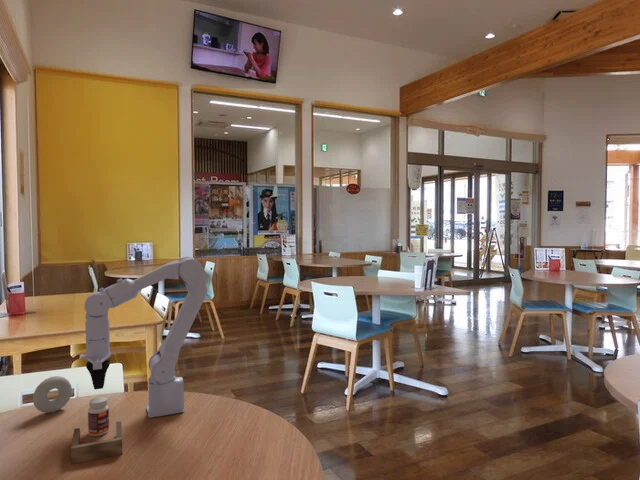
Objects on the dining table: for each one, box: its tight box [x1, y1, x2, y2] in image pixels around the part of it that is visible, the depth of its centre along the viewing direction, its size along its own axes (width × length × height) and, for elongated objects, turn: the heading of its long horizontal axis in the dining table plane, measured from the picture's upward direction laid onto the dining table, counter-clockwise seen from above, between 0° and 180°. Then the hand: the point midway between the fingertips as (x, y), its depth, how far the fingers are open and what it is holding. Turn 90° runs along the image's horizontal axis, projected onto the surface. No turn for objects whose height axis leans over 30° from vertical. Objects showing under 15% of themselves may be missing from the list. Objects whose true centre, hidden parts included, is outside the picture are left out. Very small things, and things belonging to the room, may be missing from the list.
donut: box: [32, 375, 73, 414], centre depth 128 cm, size 10×3×10 cm, turn 143°
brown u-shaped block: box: [70, 420, 123, 465], centre depth 107 cm, size 10×10×4 cm
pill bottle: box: [87, 396, 110, 437], centre depth 115 cm, size 5×5×8 cm
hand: (98, 388), depth 121 cm, fingers closed
